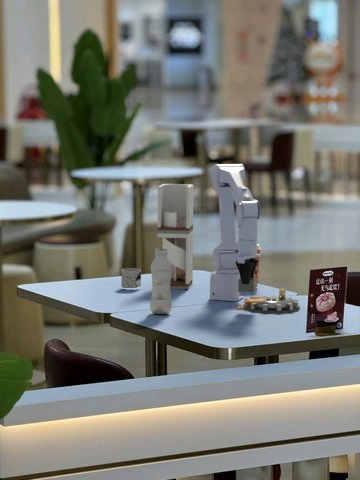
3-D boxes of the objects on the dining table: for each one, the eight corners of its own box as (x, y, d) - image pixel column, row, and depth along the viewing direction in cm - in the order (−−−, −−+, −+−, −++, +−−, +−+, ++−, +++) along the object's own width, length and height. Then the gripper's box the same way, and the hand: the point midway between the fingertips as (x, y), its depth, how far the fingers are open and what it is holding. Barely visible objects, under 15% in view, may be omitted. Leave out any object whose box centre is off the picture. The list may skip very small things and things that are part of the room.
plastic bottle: (149, 312, 379) (149, 247, 376) (171, 311, 379) (171, 247, 377) (150, 316, 372) (150, 250, 370) (172, 316, 373) (173, 250, 370)
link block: (238, 291, 380) (238, 278, 380) (240, 289, 383) (241, 276, 382) (253, 292, 379) (254, 279, 378) (256, 291, 381) (256, 277, 381)
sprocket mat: (232, 310, 382) (232, 308, 382) (248, 301, 399) (248, 298, 399) (292, 315, 376) (292, 312, 376) (305, 305, 393) (305, 302, 393)
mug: (140, 290, 416) (140, 271, 415) (120, 290, 416) (120, 271, 415) (141, 285, 426) (141, 266, 425) (122, 285, 426) (122, 266, 425)
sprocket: (272, 312, 375) (272, 297, 374) (233, 304, 388) (233, 290, 387) (309, 306, 387) (309, 291, 386) (270, 298, 399) (270, 284, 398)
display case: (162, 283, 431) (163, 183, 426) (192, 284, 429) (193, 184, 425) (157, 288, 420) (158, 186, 415) (188, 290, 418) (189, 187, 414)
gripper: (253, 243, 371) (252, 287, 372) (266, 237, 384) (265, 280, 386) (231, 242, 373) (230, 286, 375) (244, 236, 386) (244, 278, 388)
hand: (246, 283), depth 381 cm, fingers closed on link block, 3 cm apart
